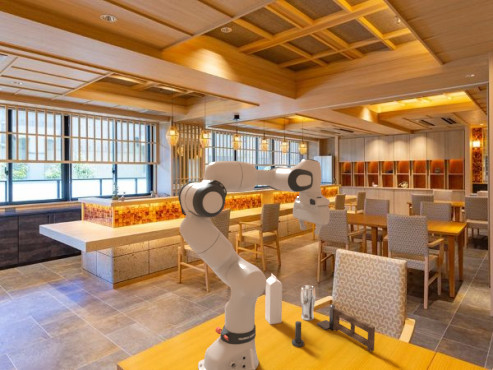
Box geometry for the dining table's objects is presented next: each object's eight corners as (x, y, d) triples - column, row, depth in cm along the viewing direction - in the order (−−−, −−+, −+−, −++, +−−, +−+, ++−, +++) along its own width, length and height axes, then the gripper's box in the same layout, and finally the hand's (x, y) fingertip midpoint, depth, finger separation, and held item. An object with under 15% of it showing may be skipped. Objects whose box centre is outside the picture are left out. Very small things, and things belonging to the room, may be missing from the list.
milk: (269, 324, 152) (270, 278, 150) (265, 318, 158) (265, 273, 156) (281, 322, 154) (282, 276, 152) (276, 316, 160) (277, 272, 158)
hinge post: (329, 332, 146) (329, 308, 145) (316, 324, 152) (317, 301, 151) (338, 328, 149) (339, 305, 148) (326, 321, 155) (326, 298, 155)
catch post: (297, 348, 133) (297, 326, 132) (289, 342, 137) (289, 321, 137) (306, 344, 135) (307, 323, 135) (298, 339, 140) (299, 318, 139)
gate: (333, 329, 146) (333, 308, 146) (337, 327, 148) (337, 307, 147) (371, 351, 129) (371, 328, 129) (375, 349, 131) (376, 326, 130)
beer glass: (314, 314, 162) (314, 285, 161) (315, 321, 155) (316, 290, 154) (299, 313, 163) (300, 284, 162) (300, 320, 156) (301, 289, 155)
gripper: (289, 196, 143) (289, 228, 144) (319, 202, 125) (319, 238, 126) (301, 195, 146) (301, 226, 147) (332, 201, 127) (332, 236, 128)
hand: (309, 232), depth 136 cm, fingers open, 8 cm apart
